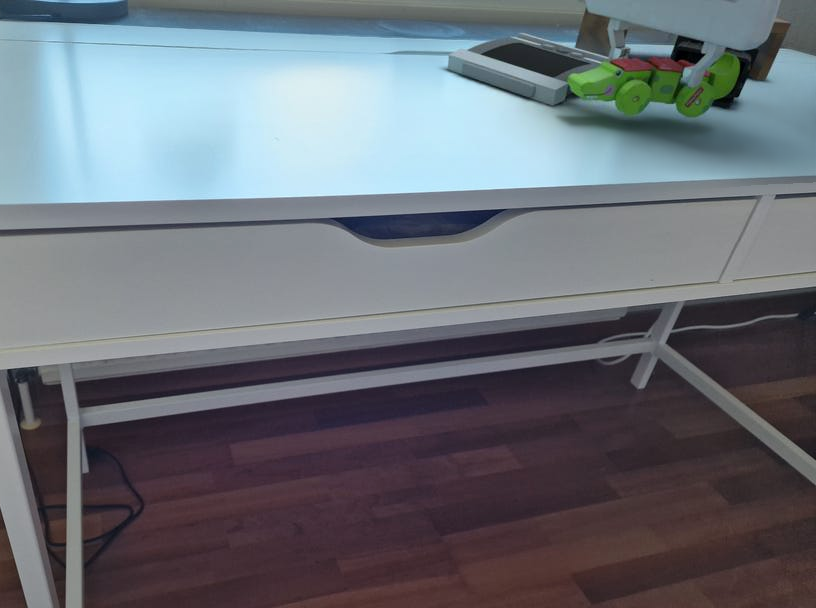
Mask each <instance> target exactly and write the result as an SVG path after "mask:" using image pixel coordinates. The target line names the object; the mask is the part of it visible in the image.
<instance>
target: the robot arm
mask: <svg viewBox="0 0 816 608" xmlns="http://www.w3.org/2000/svg"><path fill="white" fill-rule="evenodd" d="M781 1H782V0H584V2H585V7H586V6H587V10H588V12H590V13H593V14H597V15H601V16H605V17H609V18H610V21H609V25H608V28H607V29H608V34H609V40H610V45H611V50H610V53H609V57H608V62H609V63H610V62H611V61H612V60H613V59H621V60H622V59H624V58H629V57H628V56H629V55H630V53H631V49H632V48H631V47H629V46H626V38H624V30H626V29H628V30H629V28H630V25H631V24H633V25H637V26H641V27H645V28H648V29H653V30H657V31H661V32H665V33H669V34H673V35H677V36H679V35H680V36H684V37H688V38H692V39H696V40H700V41H704V45H703V48H702V50H701V53H703V54H706V55H705V56H704V57H703V58H702V59H701V60H700V61H699V62H698V63H697V64H696V65H695V66H690V67H685V68H684V71H683V77H682V78H681V79H680V84H682V85H685V86H689V87H692V88H693V87H697V86H699V84H700V83H701V80H702V78H703V75H704V73H705V70H706V69H708V68H709V67H710V66H711V65H712V64H713V63H714V62H715V61H717V60H718V59H719V58H720V57H721V56H722V55H723V53H724V51H725V48H726V47H728V48H732V49H736V50H741V51H742V50H750V49H754V48H757V47H758V46H760V45H761V44H762V43H764V42H765V41H766V40H767V39H768V37H769V34H770V32H771V29H772V26H773V24H774V21H775V18H777V15H778V11H779V8H780V4H781Z"/></svg>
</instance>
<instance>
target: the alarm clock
mask: <svg viewBox="0 0 816 608" xmlns="http://www.w3.org/2000/svg"><path fill="white" fill-rule="evenodd" d="M603 61H606V62H608V57H605V56H602V55H598V54H595V53H591V52H588V51H584V50H581V49H577V48H575V46H570V45H566V44H562V43H559V42H556V41H552V40H548V39H545V38H541V37H538V36H534V35H531V34H528V33H524V32H517V35H516V36H509V37H508V38H497V39H493V40H489V41H486V42H483V43H480V44H477V45H474V46H473V47H470V48H468V49H464V48H460V49H458V50H456V51H453V52H451V53H449V54H448V61H447V70H449V71H452V72H454V73H457V74H460V75H463V76H466V77H469V78H471V79H474V80H477V81H480V82H483V83H486V84H489V85H490V86H491V85H492V86H494V87H497V88H500V89H503V90H506V91H508V92H512V93H514V94H518V95H520V96H523V97H526V98H529V99H532V100H534V101H537V102H541V103H543V104H545V105H549V106H551V107H553V106H555V105H558V104H560V103H562V102H564V101H565V100H566V96H568V95H570V94H573V92H572V91H571V90H570V85H569V84H568V82H567V79H568V77H569V75H571V74H573V73H576V74H580V73H583V72H586V71H589V70H592V69H595V68H598V67H599V66H600V65H601V63H602V62H603Z"/></svg>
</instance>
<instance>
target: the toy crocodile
mask: <svg viewBox="0 0 816 608" xmlns="http://www.w3.org/2000/svg"><path fill="white" fill-rule="evenodd" d="M695 65H696V64H693V63H689V62H687V61H685V60H679V61H678V62H677V63H676V62H675V61H673V60H672V59H670V57H664V58H661V57H659V56H651V57H649V58H648V59H647V62H646V61H644V60H642V59H640V58H637V57H633V58H629V57H628V58H624V59H622V60H621V59H613V60H612V61H611V62H610V63H609V62H606V61H603V62H602V63H601V65H600V66H599V67H598V68H595V69H592V70H589V71H586V72H583V73H580V74H576V73H573V74H571V75H569V77H568V79H567V82H568V84H569V85H570V90H571V91H572V94H575V95H576V96H578V97H579V98H581V99H582V100H584V101H595V102H596V101H603V102H613V101H614V105H615V108H616V109H617V111H619V112H620V113H622V114H624V115H625V116H628V117H631V116H632V117H633V116H637V115H639V114H641V113H643V111H644V110H645V109H646V108H647V107H648V105H649V104H650V103H660V104H661V103H662V104H665V105H674V104H675V108H676V111H677V112H678V113H679V114H681V115H683V116H684V117H686V118H688V119H689V118H690V119H691V118H692V119H695V118H698V117H700V116H702V115H704V114H705V113H706V112H707V111H709V109H710V108H711V106H713V105H712V103H713V101H714V100H715V99H719V98H722V97H724V96H726V95H727V94H729V93H730V92H731V91H732V89H733V88H734V86H735V83H736V81H737V78H738V75H739V71H740V62H739V60H738V58H737V57H736V56H735V55H732V54H729V53H726V52H724V53H723V55H722V56H721V57H720V58H719V59H718V60H717V61H716V62H715V64H714V65H713V66H711V67H710V68H708V69H706V70H705V73H704V75H703V78H702V80H701V83H700V84H699V86H697V87H693V88H692V87H689V86H685V85H682V84H680V79H681V78H682V77H683V71H684V68H685V67H690V66H695Z"/></svg>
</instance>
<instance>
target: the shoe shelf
mask: <svg viewBox="0 0 816 608" xmlns="http://www.w3.org/2000/svg"><path fill="white" fill-rule="evenodd" d="M609 21H610V18H609V17H605V16H601V15H597V14H593V13H590V12H588V10H587V6H586V5H585V9H584V13H583V17H582V20H581V24H580V27H579V31H578V34H577V37H576V41H575V44H574V45H575V46H574V48H577V49H581V50H584V51H588V52H591V53H595V54H598V55H602V56H605V57H609V53H610V50H611V45H610V40H609V34H608V29H607V28H608V25H609ZM791 25H792V23H791V22H790V21H787V20H783V19H781V18H778V17H776V18H775V21H774V24H773V26H772V29H771V32H770V34H769V37H768V39H767V40H766V41H765V42H764V43H762V44H761V45H760V46H758V47H757V49H759V52H758V55H757V57H756V59H755V62H754V64H753V66H752V68H751V71H750V73H749V75H748V78H751V79H754V80H755V81H766V80H767V78H768V75H769V74H770V71H771V69H772V67H773V64H774V62H775V61H776V58H777V55H778V53H779V52H780V49H781V47H782V45H783V42H784V40H785V38H786V36H787V34H788V32H789V29H790V28H791ZM628 32H629V29H626V30H624V38H625V39H626V37H627V34H628Z"/></svg>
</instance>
